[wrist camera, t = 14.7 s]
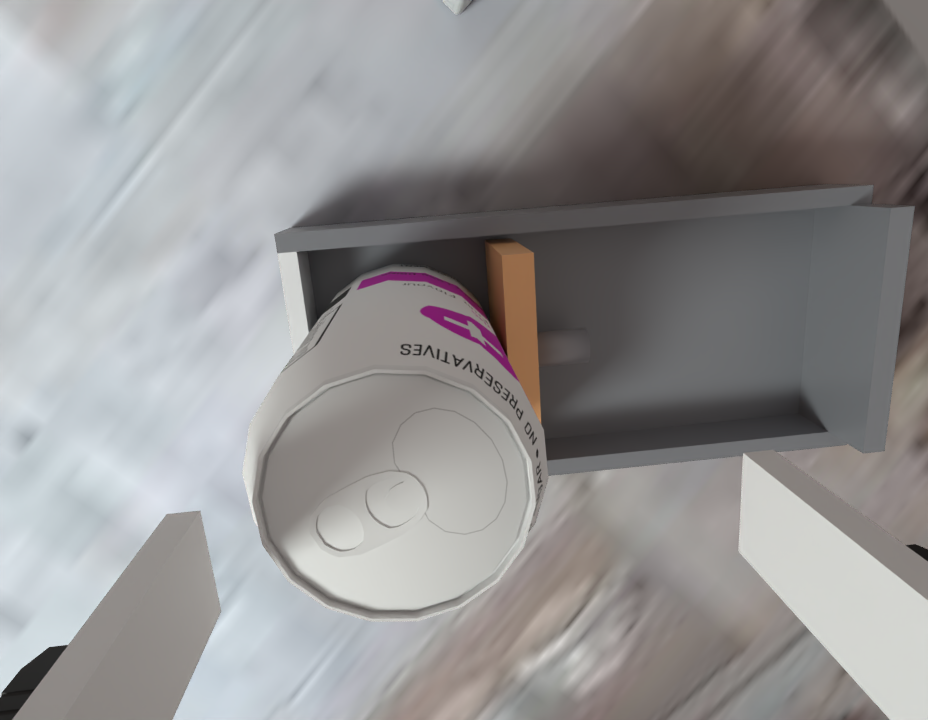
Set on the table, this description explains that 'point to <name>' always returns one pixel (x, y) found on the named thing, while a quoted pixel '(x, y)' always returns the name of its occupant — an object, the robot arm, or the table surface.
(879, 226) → the pusher lane
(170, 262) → the table surface
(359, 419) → the supplement can
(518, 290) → the pusher
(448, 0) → the supplement box
